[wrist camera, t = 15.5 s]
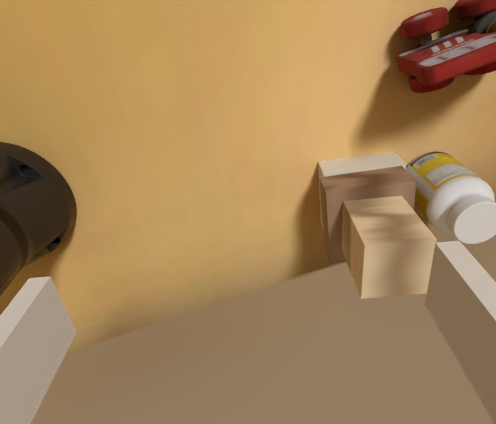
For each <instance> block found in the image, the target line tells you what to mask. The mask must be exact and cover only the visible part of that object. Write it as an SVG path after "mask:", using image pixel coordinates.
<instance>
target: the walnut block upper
mask: <svg viewBox="0 0 496 424" xmlns="http://www.w3.org/2000/svg"><path fill="white" fill-rule="evenodd" d="M319 179H320V194H321V208H322V222H323V236H324V245H325V248H326V251H327V254H328V258H329V261H330V263H338V262H346V258H345V256H344V253H343V251H342V221H343V201H349V200H360V199H371V198H382V197H394V196H403V198H404V199H405V200H406V201H407V203H408V204H409V205H410V206H411V208H412V209H413V210H414V203H415V188H416V180H415V179H414V178H413V177H412V176H411V175H410V174H409V173H408V172H407V171H406V170H405V169H404V168H403V166H395V167H388V168H381V169H374V170H367V171H360V172H354V173H347V174H340V175H333V176H326V177H319Z"/></svg>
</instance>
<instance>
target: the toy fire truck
mask: <svg viewBox="0 0 496 424" xmlns="http://www.w3.org/2000/svg"><path fill="white" fill-rule="evenodd" d="M455 12H456V17H457V18H458V19H465V18H472V17H474V21H475V23H474V24H472V25H470V26H468V27H466V28H464V29H461V30H459V31H456V32H454V33H451V34H448V35H446V36H444V37H441V38H439V39H436V40H433V41H432V36H431V33H434V32H436V31H438V30H440V29H442V28H444V27H446V26H447V25H448V23H449V17H448V10H447V9H446V8H443V7H440V8H435V9H431V10H427V11H424V12H421V13H418V14H416V15H414V16H411V17H409V18H407V19H406V20H404V21H403V22H402V23H401V30H402V36H403V38H404V39H413V38H418V37H420V42H421V44H420V45H418V46H417V47H415V48H413V49H411V50H408V51H405V52H403V53H401V54H399V55H398V56H397V63H398V67H399V70H400V71H401V72H404V73H407V74H409V75H410V77H409V83H410V88H411V90H412V91H413V92H416V93H425V92H431V91H435V90H438V89H441V88H444V87H446V86H448V85H449V84H451V83H452V82H453V81H454V77H455V76H458V75H461V74H465V75H478V74H485V73H489V72H492V71H495V70H496V0H459V1H457V2H456V4H455Z"/></svg>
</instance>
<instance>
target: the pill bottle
mask: <svg viewBox="0 0 496 424" xmlns="http://www.w3.org/2000/svg"><path fill="white" fill-rule="evenodd" d="M406 171H407V172H408V173H409V174H410V175H411V176H412V177H413V178H414V179H415V180H416V188H415V204H416V206H417V207H418V208H419V209H420V210H421V212H422V213H423V214H424V215H425V216H426V218H427V219H428V220H429V221H430V223H431V224H432V225H433V226H434V227H435V228H437V229H438V230H440V231H442V232H445V233H449V234H453V235H454V236H455V237H456V238H457V239H458V240H460V241H461V242H464V243H468V244H476V243H481V242H484V241H486V240H488V239H490V238H491V237H493V236H494V235H495V234H496V203H495V198H494V193H493V191H492V189H491V187H490V186H489V185H488V184H487V183H486V182H485V181H484V180H482V179H481V178H480V177H478V176H477V175H476V174H474V173H473V172H472V171H470V170H469V169H468V168H466V167H465V166H464V165H462V164H461V163H460V162H458V161H457V160H456V159H454V158H453V157H452V156H450V155H448V154H446V153H444V152H439V151H432V152H427V153H424V154H422V155H420V156H418V157H416V158H415V159H414V160H412V161H411V162H410V163H409V165H408V166H407V168H406Z"/></svg>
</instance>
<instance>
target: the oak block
mask: <svg viewBox="0 0 496 424" xmlns="http://www.w3.org/2000/svg"><path fill="white" fill-rule="evenodd" d="M436 241H437V239H436V238H435V237H434V235H433V234H432V233H431V232H430V230H429V229H428V228H427V227H426V225H425V224H424V223H423V222H422V220H421V219H420V218H419V217H418V215H417V214H416V213H415V211H414V210H413V209H412V208H411V206H410V205H409V204H408V203H407V201H406V200H405V199H404V198H403V196H394V197H382V198H371V199H360V200H349V201H343V221H342V251H343V253H344V256H345V258H346V261H347V264H348V266H349V268H350V271H351V274H352V276H353V279H354V282H355V284H356V287H357V289H358V292H359V294H360V297H361V298H362V299H363V298H375V297H388V296H401V295H414V294H426V293H427V289H428V283H429V278H430V272H431V266H432V260H433V254H434V249H435V243H436Z"/></svg>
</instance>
